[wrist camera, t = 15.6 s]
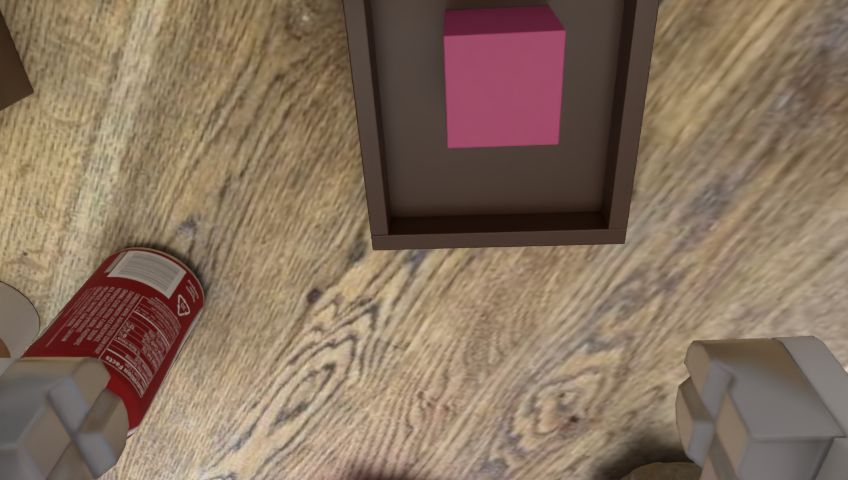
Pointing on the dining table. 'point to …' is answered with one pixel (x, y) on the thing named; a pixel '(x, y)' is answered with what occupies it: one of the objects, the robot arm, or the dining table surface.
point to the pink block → (503, 76)
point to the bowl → (666, 471)
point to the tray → (504, 165)
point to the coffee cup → (16, 322)
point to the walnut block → (11, 71)
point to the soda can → (129, 323)
